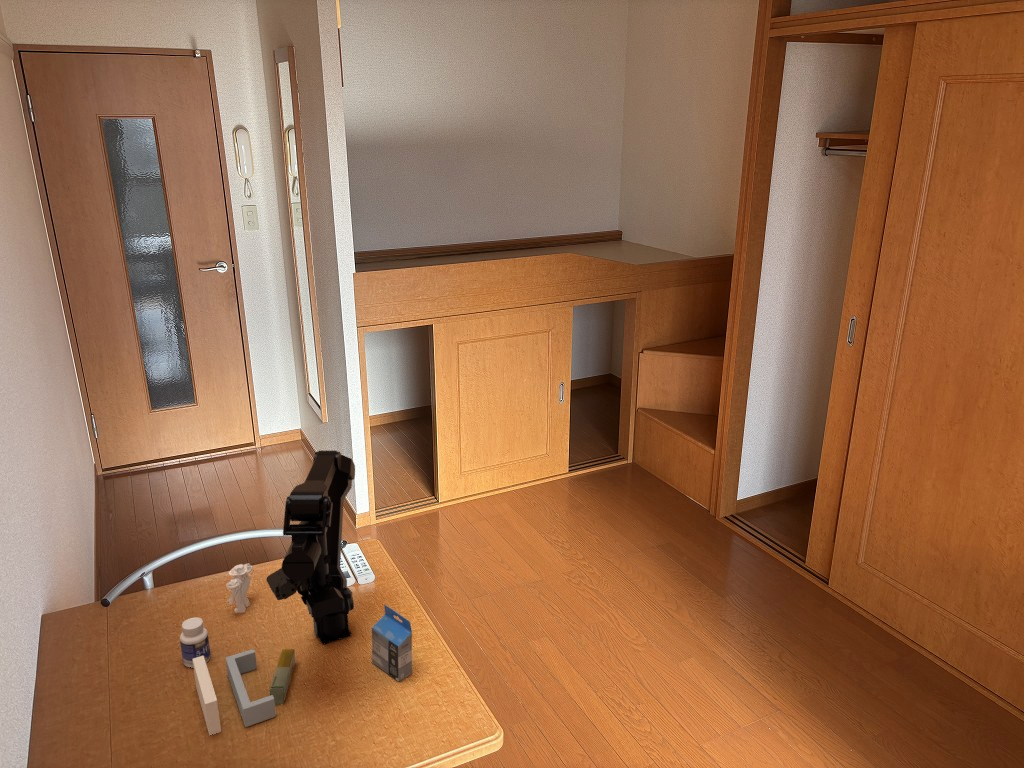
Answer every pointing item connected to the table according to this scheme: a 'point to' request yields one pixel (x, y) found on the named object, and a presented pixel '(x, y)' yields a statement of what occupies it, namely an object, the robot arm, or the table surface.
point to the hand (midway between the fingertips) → (317, 620)
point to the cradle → (248, 710)
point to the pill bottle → (194, 641)
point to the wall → (206, 695)
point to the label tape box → (392, 645)
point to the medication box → (282, 676)
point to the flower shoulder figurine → (240, 586)
